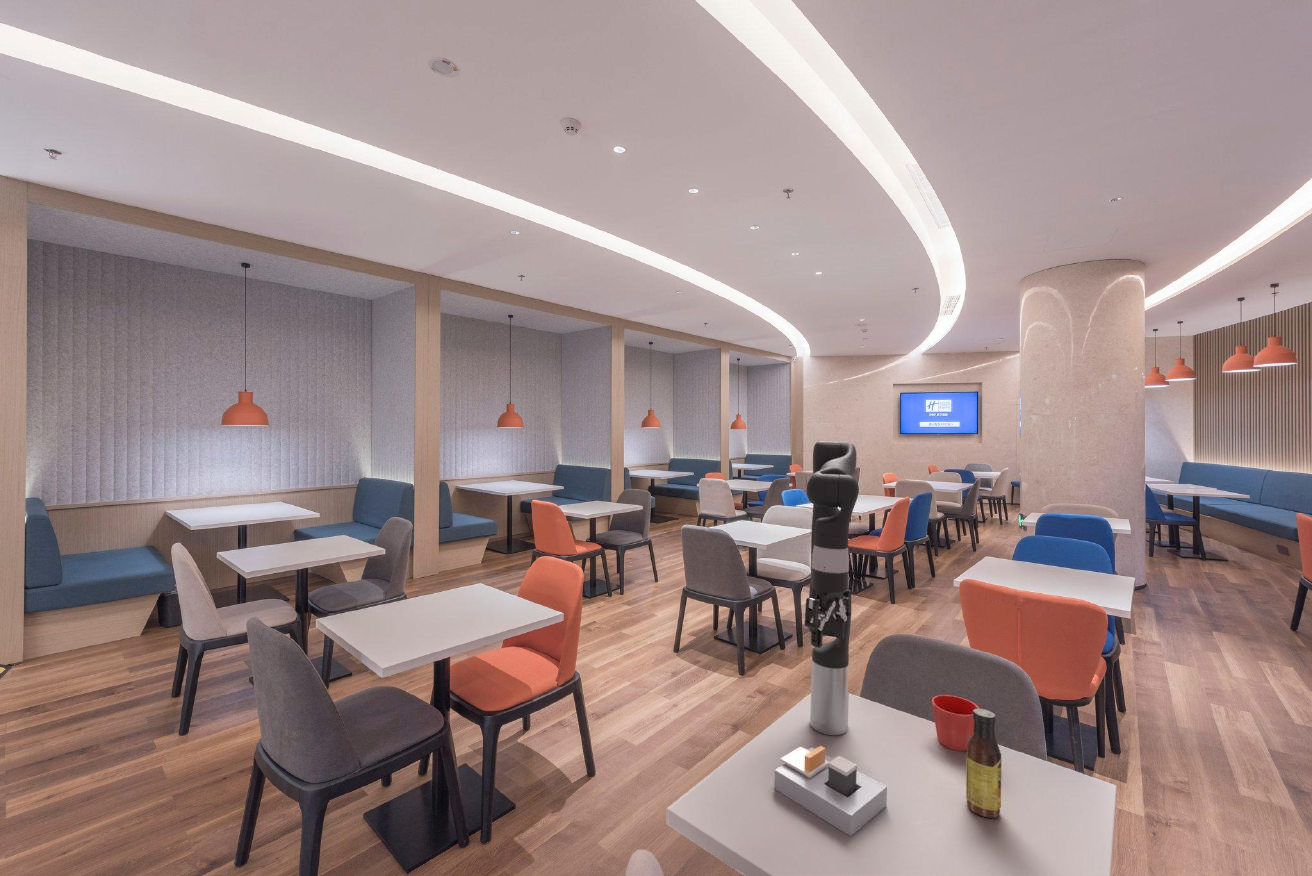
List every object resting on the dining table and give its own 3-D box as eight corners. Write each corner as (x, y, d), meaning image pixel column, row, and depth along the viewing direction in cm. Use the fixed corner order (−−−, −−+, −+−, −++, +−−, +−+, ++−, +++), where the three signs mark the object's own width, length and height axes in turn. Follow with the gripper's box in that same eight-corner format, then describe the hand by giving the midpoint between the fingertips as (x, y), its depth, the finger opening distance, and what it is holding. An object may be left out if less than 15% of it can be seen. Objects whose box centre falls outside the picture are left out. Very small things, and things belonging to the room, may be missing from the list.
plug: (838, 793, 117) (839, 755, 117) (855, 803, 114) (857, 764, 114) (827, 801, 114) (828, 762, 114) (845, 811, 111) (846, 772, 111)
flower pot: (920, 736, 141) (922, 698, 141) (949, 727, 146) (951, 691, 146) (959, 759, 131) (960, 718, 131) (988, 749, 136) (989, 710, 136)
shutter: (800, 749, 126) (801, 733, 126) (829, 764, 120) (830, 748, 120) (780, 761, 121) (781, 744, 121) (809, 777, 115) (810, 760, 115)
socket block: (811, 764, 127) (812, 747, 127) (886, 805, 114) (887, 786, 114) (774, 788, 118) (774, 770, 118) (850, 836, 105) (851, 815, 105)
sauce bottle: (1005, 822, 110) (1009, 723, 110) (971, 817, 111) (974, 719, 111) (992, 801, 116) (995, 708, 116) (960, 796, 117) (963, 704, 117)
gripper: (827, 575, 110) (824, 655, 111) (863, 566, 120) (861, 640, 120) (795, 568, 116) (793, 644, 116) (832, 559, 125) (830, 630, 125)
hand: (828, 642), depth 118 cm, fingers open, 8 cm apart
